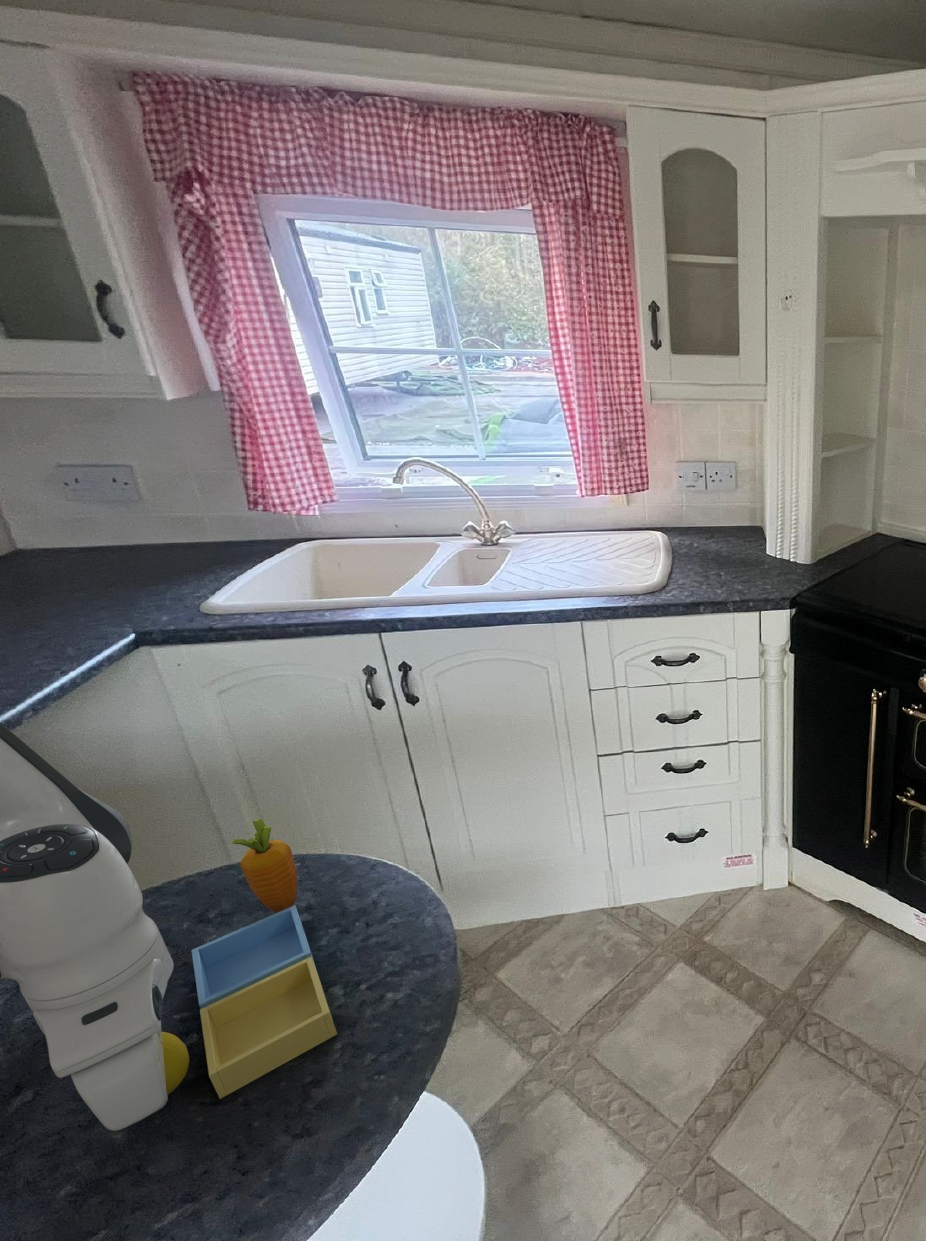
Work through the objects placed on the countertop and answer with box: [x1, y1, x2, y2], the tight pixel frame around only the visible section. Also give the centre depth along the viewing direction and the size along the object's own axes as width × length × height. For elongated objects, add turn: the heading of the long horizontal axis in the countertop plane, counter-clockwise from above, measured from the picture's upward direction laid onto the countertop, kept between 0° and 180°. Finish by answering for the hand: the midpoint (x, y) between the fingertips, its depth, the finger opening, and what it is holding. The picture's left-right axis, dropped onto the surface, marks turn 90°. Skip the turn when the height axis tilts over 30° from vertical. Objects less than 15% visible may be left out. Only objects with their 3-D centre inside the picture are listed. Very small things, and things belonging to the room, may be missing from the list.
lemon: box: [162, 1031, 190, 1095], centre depth 70 cm, size 6×6×8 cm
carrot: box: [231, 818, 298, 914], centre depth 90 cm, size 5×5×15 cm
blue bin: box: [190, 904, 319, 1010], centre depth 84 cm, size 10×10×4 cm
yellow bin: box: [199, 956, 338, 1100], centre depth 77 cm, size 10×10×4 cm
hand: (154, 1077), depth 70 cm, fingers closed on lemon, 5 cm apart
